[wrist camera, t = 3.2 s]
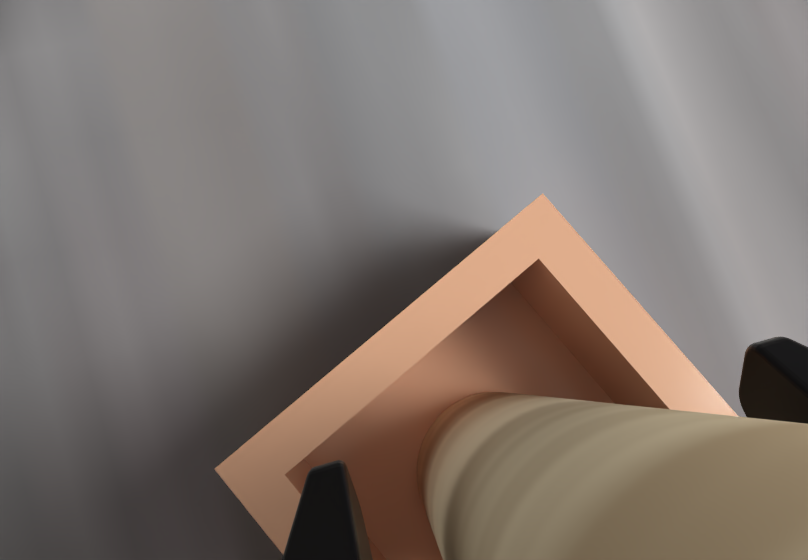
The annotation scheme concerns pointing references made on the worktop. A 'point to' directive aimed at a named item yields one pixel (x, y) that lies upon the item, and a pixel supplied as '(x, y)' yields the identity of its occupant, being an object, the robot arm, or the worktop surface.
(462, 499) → the dowel
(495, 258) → the peach square box
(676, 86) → the worktop surface
